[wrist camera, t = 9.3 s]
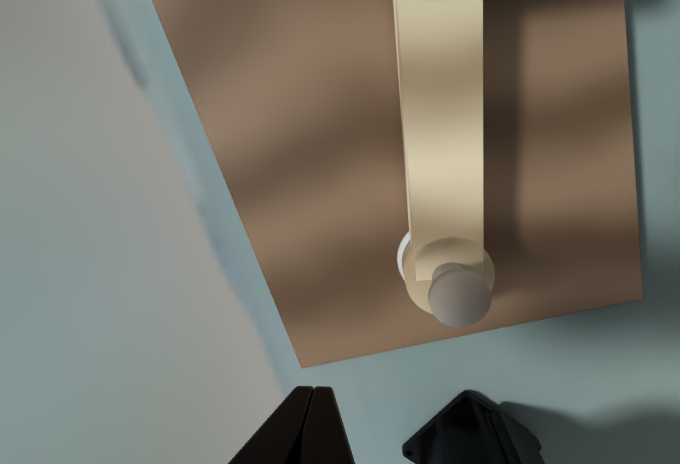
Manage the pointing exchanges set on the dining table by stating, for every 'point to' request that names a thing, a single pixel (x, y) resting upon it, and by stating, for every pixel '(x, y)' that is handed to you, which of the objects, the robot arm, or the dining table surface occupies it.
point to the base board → (389, 168)
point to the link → (444, 157)
